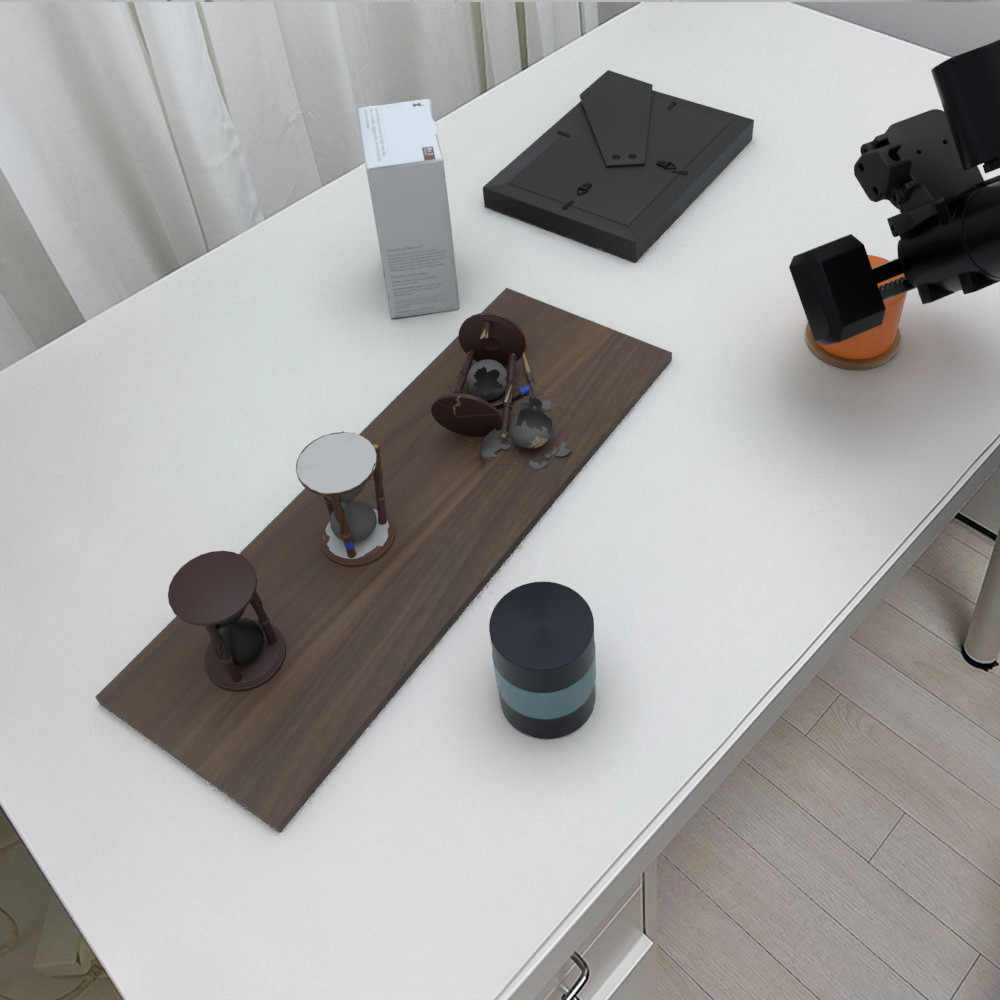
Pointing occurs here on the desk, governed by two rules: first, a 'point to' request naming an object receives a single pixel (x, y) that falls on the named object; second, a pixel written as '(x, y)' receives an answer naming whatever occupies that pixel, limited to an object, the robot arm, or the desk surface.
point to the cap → (875, 338)
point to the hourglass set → (376, 553)
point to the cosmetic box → (410, 206)
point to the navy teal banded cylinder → (544, 659)
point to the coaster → (850, 362)
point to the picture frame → (619, 166)
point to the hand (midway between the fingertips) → (856, 275)
